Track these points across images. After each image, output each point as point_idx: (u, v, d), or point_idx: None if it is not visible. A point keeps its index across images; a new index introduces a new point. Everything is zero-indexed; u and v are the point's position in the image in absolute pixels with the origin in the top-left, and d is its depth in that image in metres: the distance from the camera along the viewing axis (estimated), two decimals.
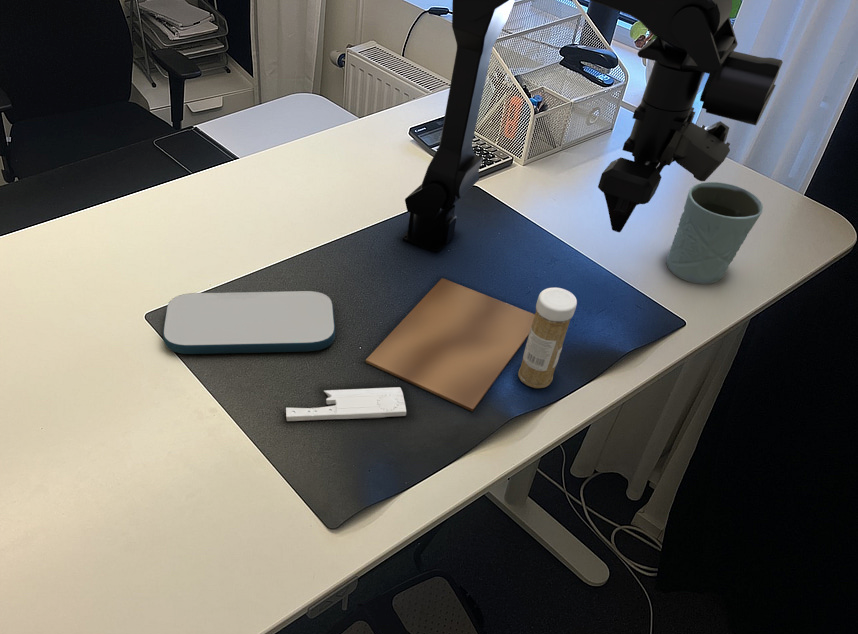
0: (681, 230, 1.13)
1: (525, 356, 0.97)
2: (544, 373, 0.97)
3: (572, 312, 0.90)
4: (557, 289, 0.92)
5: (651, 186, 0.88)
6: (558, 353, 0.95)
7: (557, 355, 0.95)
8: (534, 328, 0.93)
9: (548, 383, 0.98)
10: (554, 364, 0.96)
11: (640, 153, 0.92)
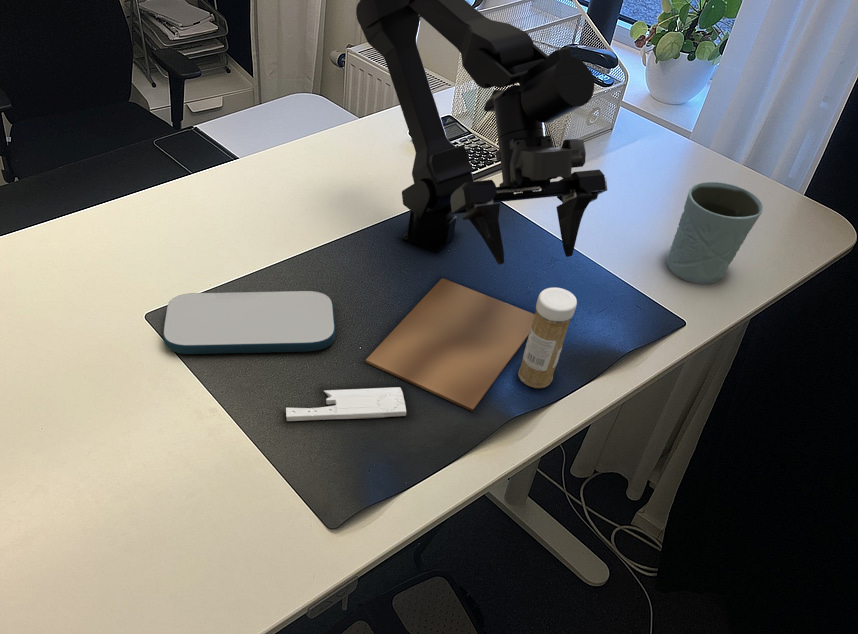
0: (681, 230, 1.13)
1: (525, 356, 0.97)
2: (544, 373, 0.97)
3: (572, 312, 0.90)
4: (557, 289, 0.92)
5: (468, 186, 0.91)
6: (558, 353, 0.95)
7: (557, 355, 0.95)
8: (534, 328, 0.93)
9: (548, 383, 0.98)
10: (554, 364, 0.96)
11: (503, 184, 0.95)
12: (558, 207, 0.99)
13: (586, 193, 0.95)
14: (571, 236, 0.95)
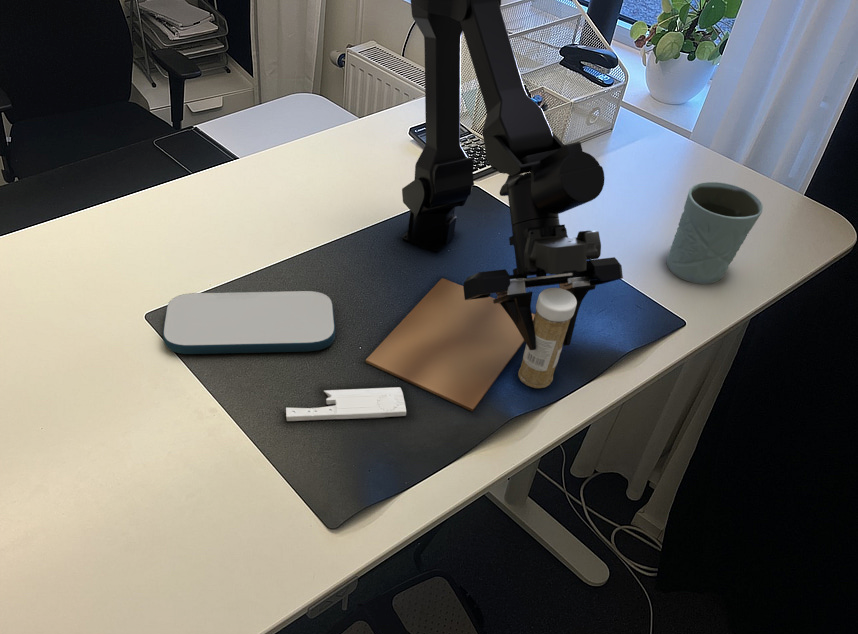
0: (681, 230, 1.13)
1: (525, 356, 0.97)
2: (544, 373, 0.97)
3: (572, 312, 0.90)
4: (557, 289, 0.92)
5: (482, 276, 0.90)
6: (558, 353, 0.95)
7: (557, 355, 0.95)
8: None
9: (548, 383, 0.98)
10: (554, 364, 0.96)
11: (517, 271, 0.94)
12: None
13: (584, 283, 0.93)
14: (568, 326, 0.94)
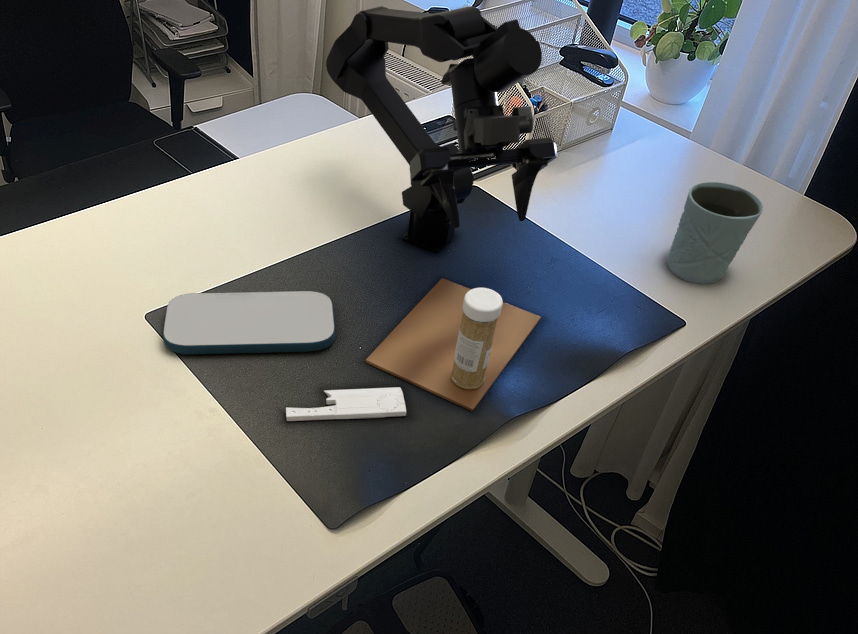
0: (681, 230, 1.13)
1: (455, 357, 0.96)
2: (475, 374, 0.96)
3: (497, 312, 0.89)
4: (484, 289, 0.91)
5: (424, 152, 0.97)
6: (487, 354, 0.94)
7: (486, 356, 0.94)
8: (461, 328, 0.92)
9: (479, 384, 0.97)
10: (484, 365, 0.95)
11: (459, 152, 1.01)
12: (513, 175, 1.04)
13: (537, 160, 1.00)
14: (524, 201, 1.01)
